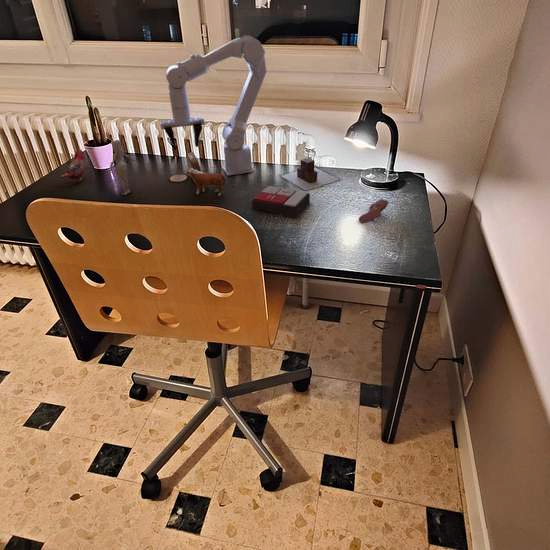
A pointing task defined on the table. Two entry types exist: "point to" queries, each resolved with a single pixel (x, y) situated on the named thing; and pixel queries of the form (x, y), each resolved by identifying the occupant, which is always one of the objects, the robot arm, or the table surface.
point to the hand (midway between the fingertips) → (185, 147)
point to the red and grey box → (281, 201)
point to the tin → (192, 161)
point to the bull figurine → (206, 180)
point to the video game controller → (374, 211)
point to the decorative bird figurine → (76, 167)
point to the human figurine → (120, 164)
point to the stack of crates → (309, 176)
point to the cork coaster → (178, 178)
